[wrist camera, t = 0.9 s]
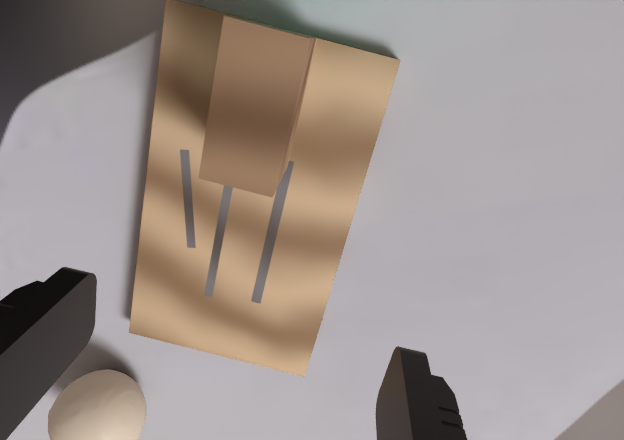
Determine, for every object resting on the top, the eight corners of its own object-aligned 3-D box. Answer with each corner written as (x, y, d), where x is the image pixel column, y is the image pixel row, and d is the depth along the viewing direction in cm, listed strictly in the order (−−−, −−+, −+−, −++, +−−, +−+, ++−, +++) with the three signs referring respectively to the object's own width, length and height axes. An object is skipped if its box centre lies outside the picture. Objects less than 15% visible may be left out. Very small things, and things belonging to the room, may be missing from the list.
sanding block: (250, 20, 27) (223, 15, 21) (317, 38, 27) (308, 38, 21) (226, 152, 30) (198, 178, 24) (287, 167, 30) (272, 197, 24)
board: (173, -1, 28) (166, -3, 26) (398, 59, 28) (400, 60, 27) (135, 323, 37) (128, 332, 35) (305, 366, 37) (304, 377, 36)
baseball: (60, 368, 39) (5, 430, 33) (131, 343, 37) (88, 404, 31) (103, 426, 41) (59, 495, 35) (172, 405, 40) (139, 473, 33)
